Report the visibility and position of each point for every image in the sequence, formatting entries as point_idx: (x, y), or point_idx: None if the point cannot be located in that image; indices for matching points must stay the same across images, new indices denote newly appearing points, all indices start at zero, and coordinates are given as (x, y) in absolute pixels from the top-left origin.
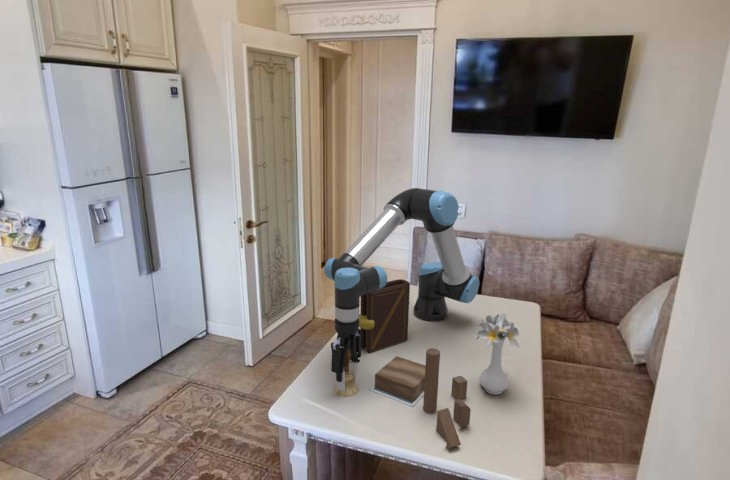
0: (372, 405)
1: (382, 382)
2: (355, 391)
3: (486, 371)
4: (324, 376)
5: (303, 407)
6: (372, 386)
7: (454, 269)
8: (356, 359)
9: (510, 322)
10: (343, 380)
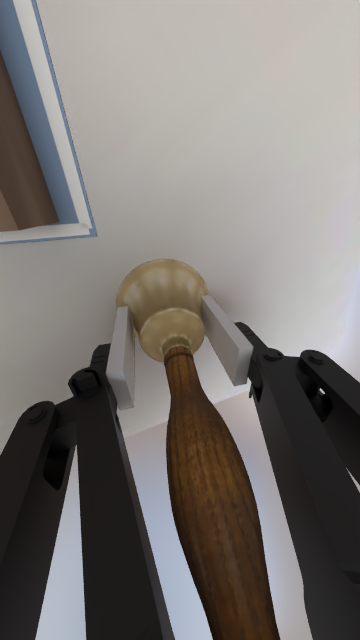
0: (185, 123)
1: (10, 151)
2: (160, 268)
3: None
4: (155, 391)
5: (301, 328)
6: (62, 238)
7: None
8: (97, 398)
9: None
10: (230, 319)
